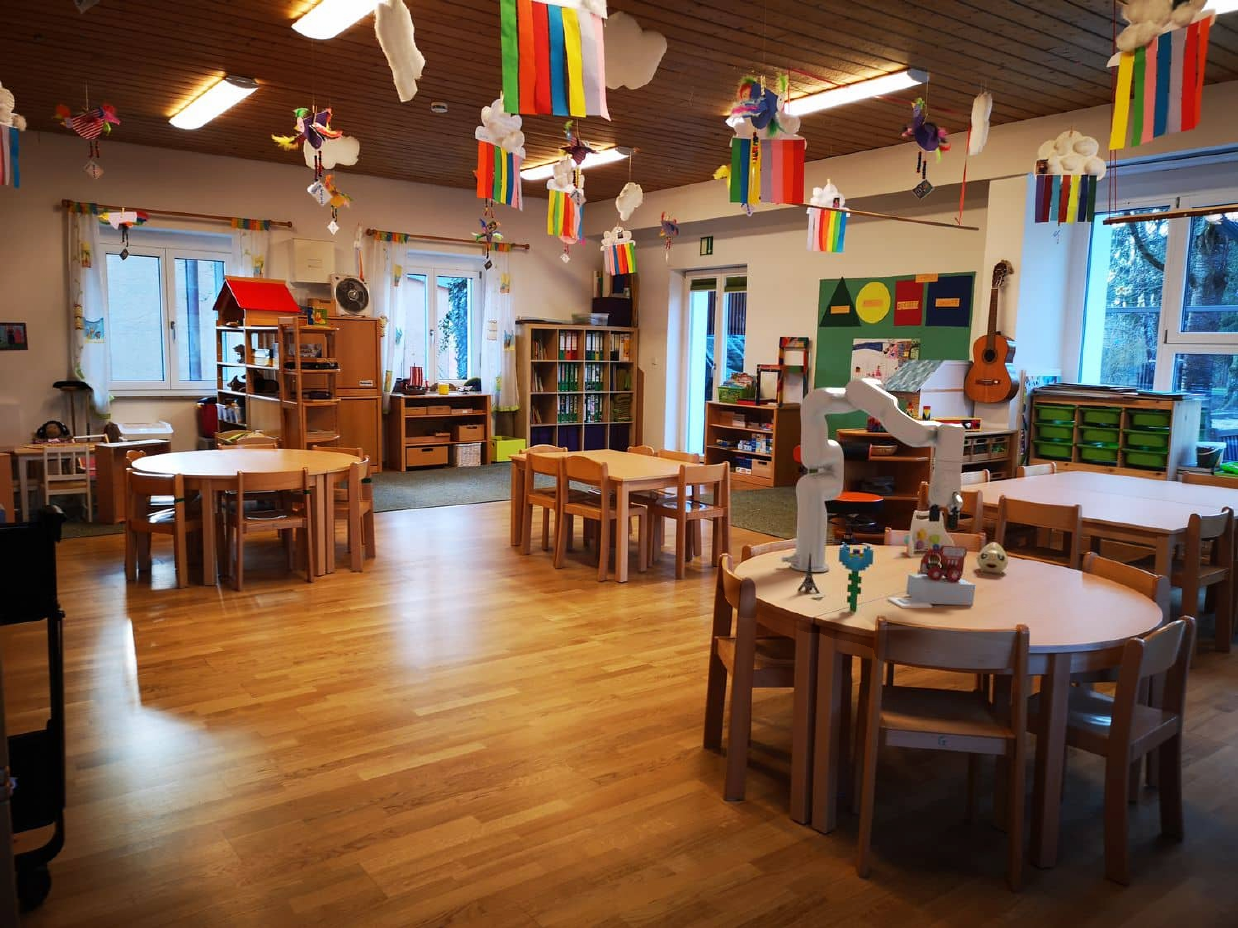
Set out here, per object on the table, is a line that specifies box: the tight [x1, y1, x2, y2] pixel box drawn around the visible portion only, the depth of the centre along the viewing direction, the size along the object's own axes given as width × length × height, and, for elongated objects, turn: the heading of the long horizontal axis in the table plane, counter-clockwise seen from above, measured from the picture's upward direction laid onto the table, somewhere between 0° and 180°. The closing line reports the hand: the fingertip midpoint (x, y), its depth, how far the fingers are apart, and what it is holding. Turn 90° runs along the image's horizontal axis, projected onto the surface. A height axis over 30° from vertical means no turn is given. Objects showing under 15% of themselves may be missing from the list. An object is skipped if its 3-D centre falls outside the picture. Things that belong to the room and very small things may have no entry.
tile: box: [887, 597, 933, 609], centre depth 253 cm, size 9×9×1 cm
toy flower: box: [838, 543, 874, 612], centre depth 244 cm, size 9×9×18 cm
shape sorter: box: [903, 510, 955, 558], centre depth 319 cm, size 20×10×18 cm, turn 112°
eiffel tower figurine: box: [797, 550, 826, 601], centre depth 263 cm, size 15×10×13 cm
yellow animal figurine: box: [976, 541, 1009, 574], centre depth 295 cm, size 10×12×11 cm
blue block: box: [905, 573, 976, 606], centre depth 258 cm, size 15×11×6 cm
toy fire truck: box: [919, 544, 968, 583], centre depth 257 cm, size 7×12×10 cm, turn 82°
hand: (942, 524), depth 256 cm, fingers open, 9 cm apart
